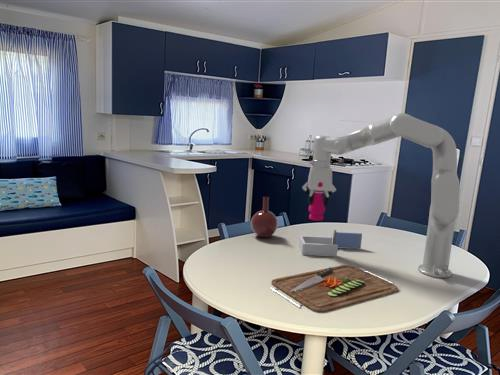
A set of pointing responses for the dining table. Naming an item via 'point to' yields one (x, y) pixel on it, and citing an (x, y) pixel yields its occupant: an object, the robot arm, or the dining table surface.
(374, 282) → the chopping board
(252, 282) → the dining table surface
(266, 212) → the round-bottom flask
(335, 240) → the panel
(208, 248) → the dining table surface
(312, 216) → the pepper mill
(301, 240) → the grey open box
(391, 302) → the dining table surface
